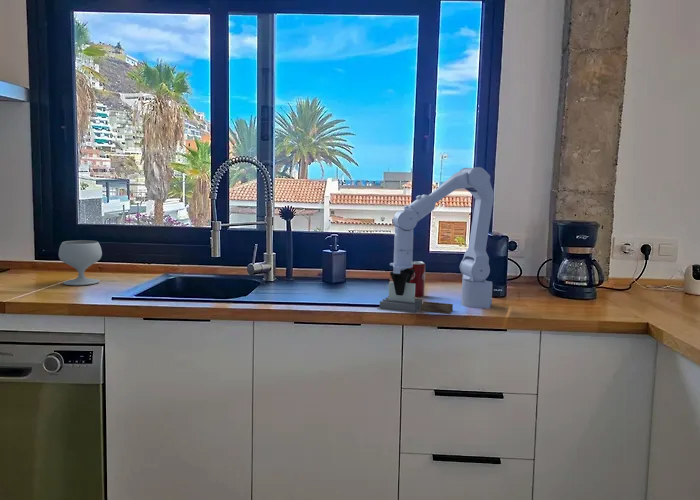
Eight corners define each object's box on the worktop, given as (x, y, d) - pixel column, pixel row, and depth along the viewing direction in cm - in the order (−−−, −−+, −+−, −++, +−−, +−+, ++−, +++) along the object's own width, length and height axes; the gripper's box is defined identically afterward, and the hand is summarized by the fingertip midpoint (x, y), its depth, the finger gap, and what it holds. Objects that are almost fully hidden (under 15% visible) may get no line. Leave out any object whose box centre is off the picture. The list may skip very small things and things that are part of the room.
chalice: (60, 280, 200) (59, 240, 198) (102, 279, 205) (101, 239, 204) (58, 287, 187) (56, 244, 185) (103, 285, 193) (101, 243, 191)
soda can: (407, 299, 182) (409, 264, 181) (399, 295, 189) (400, 261, 188) (427, 298, 184) (429, 263, 183) (418, 294, 191) (420, 260, 190)
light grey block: (414, 307, 167) (415, 283, 166) (413, 308, 166) (414, 284, 165) (389, 305, 170) (390, 281, 169) (388, 305, 169) (389, 282, 168)
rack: (424, 306, 172) (425, 298, 171) (415, 315, 160) (415, 306, 159) (388, 303, 176) (388, 294, 176) (376, 311, 164) (376, 302, 163)
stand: (453, 312, 165) (453, 303, 165) (449, 316, 160) (450, 307, 159) (423, 309, 168) (424, 300, 168) (419, 313, 163) (419, 304, 162)
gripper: (397, 246, 174) (395, 288, 175) (383, 251, 160) (382, 296, 162) (418, 248, 171) (416, 290, 173) (407, 253, 158) (405, 298, 159)
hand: (401, 293), depth 167 cm, fingers open, 5 cm apart
